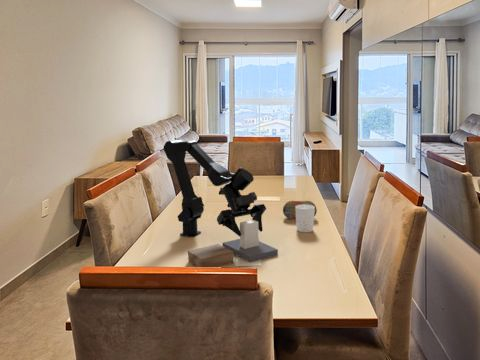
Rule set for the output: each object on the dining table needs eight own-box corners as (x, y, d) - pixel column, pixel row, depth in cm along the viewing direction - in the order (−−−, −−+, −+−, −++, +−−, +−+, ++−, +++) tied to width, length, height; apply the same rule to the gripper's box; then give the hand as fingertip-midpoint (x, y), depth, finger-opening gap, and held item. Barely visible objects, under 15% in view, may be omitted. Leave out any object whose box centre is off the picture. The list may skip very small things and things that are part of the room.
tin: (282, 219, 207) (282, 201, 205) (283, 217, 210) (283, 199, 208) (316, 220, 204) (316, 201, 203) (316, 218, 207) (316, 200, 206)
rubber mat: (222, 247, 170) (222, 242, 170) (249, 241, 176) (249, 236, 176) (249, 262, 155) (249, 256, 155) (277, 254, 161) (277, 249, 161)
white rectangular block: (240, 246, 165) (239, 222, 163) (253, 243, 168) (253, 219, 166) (244, 248, 162) (244, 224, 161) (258, 245, 166) (258, 221, 164)
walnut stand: (188, 261, 156) (187, 250, 156) (218, 254, 163) (218, 243, 162) (202, 270, 148) (201, 259, 147) (233, 263, 155) (233, 251, 154)
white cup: (291, 230, 190) (291, 207, 188) (302, 226, 195) (302, 203, 193) (307, 234, 184) (307, 210, 182) (318, 229, 190) (318, 206, 188)
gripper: (219, 188, 160) (237, 226, 153) (263, 182, 169) (281, 217, 162) (209, 206, 168) (226, 242, 161) (251, 199, 177) (268, 233, 170)
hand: (251, 233), depth 163 cm, fingers open, 9 cm apart
